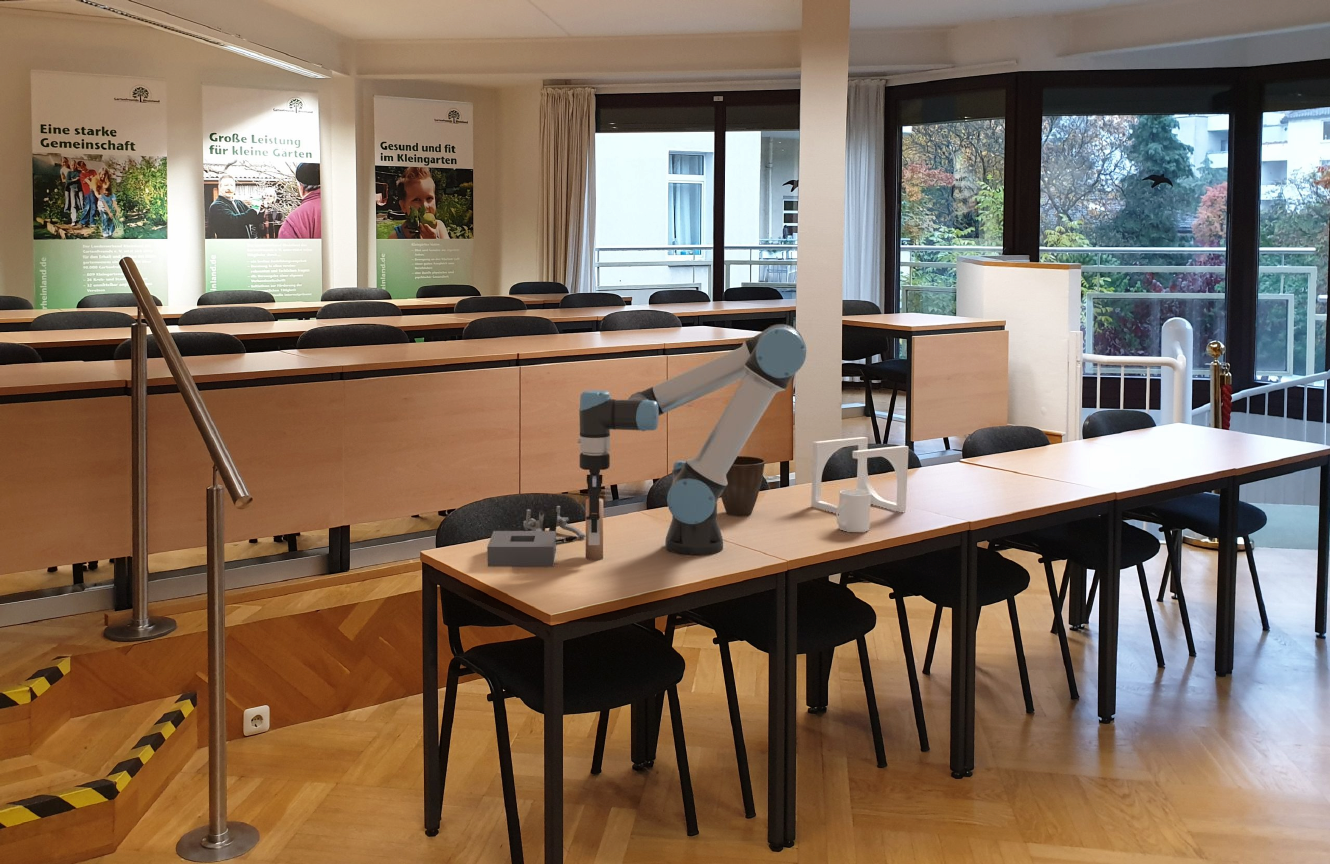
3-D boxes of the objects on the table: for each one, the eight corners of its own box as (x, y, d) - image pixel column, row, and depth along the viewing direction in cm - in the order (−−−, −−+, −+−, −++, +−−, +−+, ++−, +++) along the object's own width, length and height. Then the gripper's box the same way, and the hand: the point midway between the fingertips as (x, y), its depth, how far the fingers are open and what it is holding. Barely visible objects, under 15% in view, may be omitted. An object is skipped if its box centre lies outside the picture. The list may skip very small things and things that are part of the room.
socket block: (555, 549, 307) (555, 530, 306) (553, 566, 291) (553, 546, 290) (493, 549, 306) (493, 530, 305) (487, 566, 290) (487, 546, 289)
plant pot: (713, 518, 343) (714, 464, 341) (713, 507, 358) (714, 455, 356) (764, 519, 343) (766, 465, 340) (762, 508, 358) (763, 456, 355)
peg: (603, 555, 301) (603, 498, 299) (603, 560, 297) (603, 501, 295) (585, 555, 301) (585, 497, 299) (585, 560, 297) (585, 501, 295)
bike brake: (517, 531, 323) (553, 558, 307) (519, 507, 321) (556, 533, 305) (560, 525, 330) (598, 551, 315) (562, 502, 329) (600, 527, 313)
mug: (823, 530, 331) (825, 493, 329) (851, 524, 338) (853, 487, 337) (847, 536, 324) (849, 498, 323) (875, 530, 332) (877, 492, 330)
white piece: (905, 512, 355) (908, 446, 352) (854, 519, 345) (857, 452, 342) (861, 499, 372) (863, 436, 369) (811, 506, 361) (813, 441, 358)
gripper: (580, 444, 306) (580, 528, 310) (578, 460, 283) (578, 550, 287) (609, 444, 306) (609, 528, 310) (609, 461, 284) (609, 550, 287)
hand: (594, 539), depth 298 cm, fingers open, 10 cm apart
